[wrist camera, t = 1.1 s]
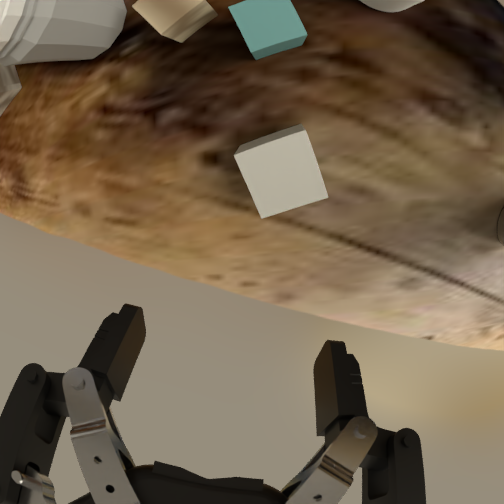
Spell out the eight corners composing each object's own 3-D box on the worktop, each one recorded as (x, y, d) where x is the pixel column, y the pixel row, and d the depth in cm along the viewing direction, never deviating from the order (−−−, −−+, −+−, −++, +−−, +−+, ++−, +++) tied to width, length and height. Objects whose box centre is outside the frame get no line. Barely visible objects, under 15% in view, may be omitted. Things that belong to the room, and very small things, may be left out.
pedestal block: (301, 123, 27) (305, 129, 23) (321, 181, 31) (328, 197, 27) (240, 145, 29) (233, 155, 25) (263, 199, 33) (261, 218, 28)
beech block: (191, -11, 19) (173, -28, 14) (218, 15, 21) (205, -1, 16) (156, 17, 21) (131, 6, 16) (181, 42, 23) (160, 34, 18)
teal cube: (282, 7, 20) (284, -11, 15) (301, 45, 22) (307, 34, 17) (237, 21, 21) (228, 7, 16) (256, 59, 24) (250, 52, 19)
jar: (110, -21, 17) (7, -52, 2) (145, 21, 21) (32, -10, 6) (58, 32, 20) (-50, 39, 5) (87, 75, 25) (-32, 98, 9)
